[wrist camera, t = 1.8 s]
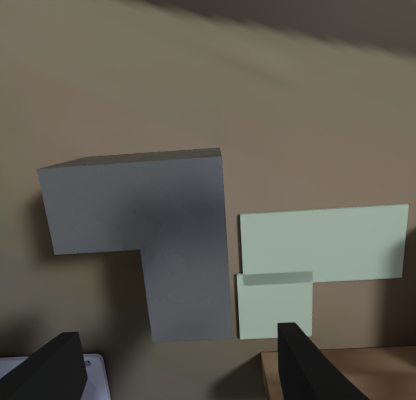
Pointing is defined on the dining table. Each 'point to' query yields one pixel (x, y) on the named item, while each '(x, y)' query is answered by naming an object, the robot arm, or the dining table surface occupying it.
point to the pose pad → (311, 259)
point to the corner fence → (360, 371)
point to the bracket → (152, 230)
